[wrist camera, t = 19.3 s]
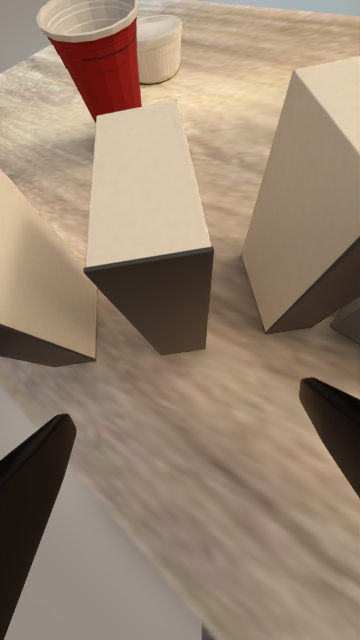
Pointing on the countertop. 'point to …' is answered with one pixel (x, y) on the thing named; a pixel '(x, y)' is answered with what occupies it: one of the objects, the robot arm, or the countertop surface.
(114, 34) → the plastic cup
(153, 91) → the countertop surface
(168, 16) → the ramekin
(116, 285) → the cream rectangular block
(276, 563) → the countertop surface
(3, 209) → the white books
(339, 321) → the grey books
